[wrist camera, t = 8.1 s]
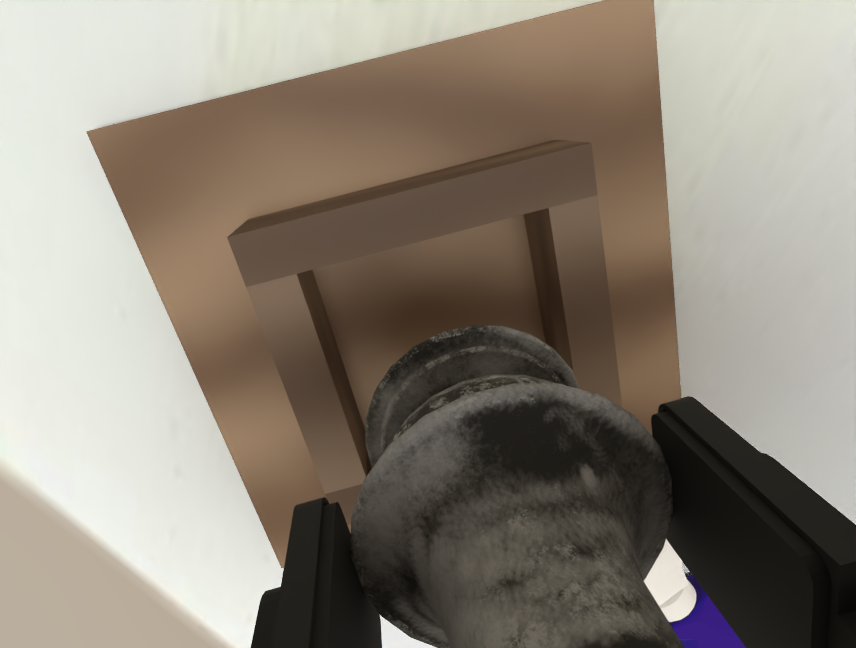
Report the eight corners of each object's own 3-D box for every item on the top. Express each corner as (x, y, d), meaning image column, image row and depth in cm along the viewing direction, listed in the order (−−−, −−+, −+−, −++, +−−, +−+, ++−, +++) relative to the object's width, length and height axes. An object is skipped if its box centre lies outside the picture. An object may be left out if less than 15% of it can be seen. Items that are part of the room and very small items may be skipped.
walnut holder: (675, 446, 24) (729, 501, 21) (284, 554, 24) (270, 629, 20) (640, -6, 18) (710, -39, 14) (98, 131, 17) (30, 133, 14)
